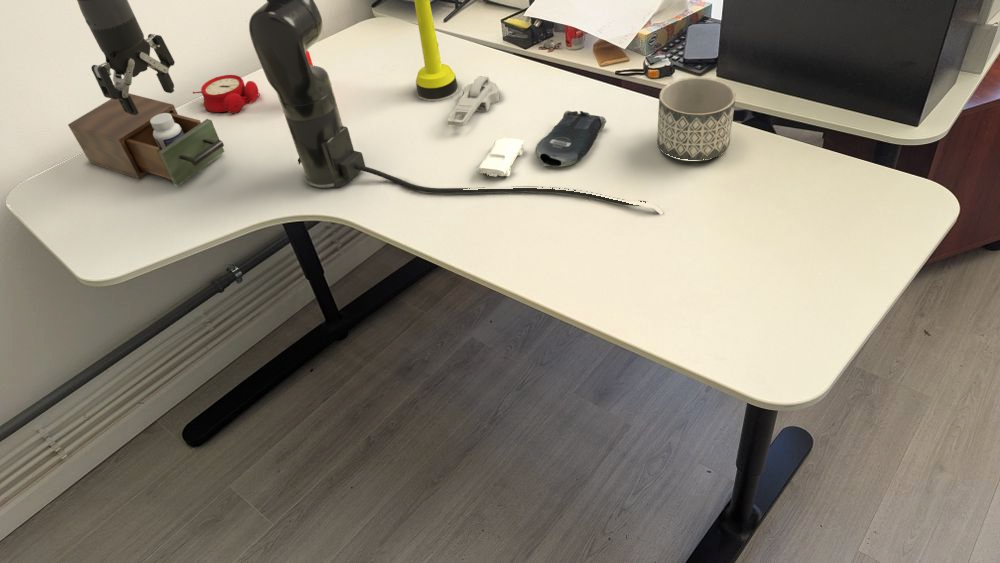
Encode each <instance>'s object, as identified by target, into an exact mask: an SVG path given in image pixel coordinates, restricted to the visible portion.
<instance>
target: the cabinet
mask: <svg viewBox="0 0 1000 563" xmlns="http://www.w3.org/2000/svg"><path fill="white" fill-rule="evenodd" d="M128 95H129V96H130V97H131V98H132V100H133V102H134V104H135V106H136V108H137V110H138V112H139V114H137V115H131V114H129V113H126V112H125V111H124V109H123V107H122V106H121V104H120V102H119V100H118V99H116V100H115V99H111V98H109V100H107V101H105V102H103V103H102V104H100V105H98V106H96V107H95V108H93V109H91V110H90V111H88V112H86V113H85V114H83V115H82V116H80V117H78V118H77V119H75V120H73V121H71V122H69V123H68V124H67V126H68V128H69V129H70V131H71V133H72V134H73V136H74V138H75V139H76V141H77V143H78V145H79V147H80V148H81V150H82V152H83V153H84V155H85V156H86V158H87V160H88V161H89V163H90V164H93V165H95V166H99V167H101V168H104V169H108V170H110V171H114V172H116V173H120V174H123V175H127V176H129V177H133V178H136V179H138V180H140V179H143V178H144V177H145V176H146V175H149V174H150V173H149V172H146V171H143V170H139V169H138V167H137V165H136V163H135V161H134V159H133V157H132V156H131V154H130V152H129V150H128V148H127V146H126V144H125V142H124V141H125V140H126V139H128V138H129V137H131V136H132V135H134V134H135V133H137V132H139V131H140V130H142V129H143V128H145V127H146V126H148V125H149V124H151V123H150V120H151V118H153V117H154V116H156V115H158V114H162V113H168V112H170V113H173V114H177V115H179V113H178V111H177V110H176V107H175V105H174V104H173V103H168V102H165V101H161V100H157V99H153V98H149V97H145V96H141V95H138V94H133V93H130V92H129V93H128Z"/></svg>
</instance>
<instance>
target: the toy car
mask: <svg viewBox="0 0 1000 563" xmlns="http://www.w3.org/2000/svg"><path fill="white" fill-rule="evenodd" d="M524 142H525V141H524V140H522V139H518V138H510V137H509V138H508V137H501V138H500V139H498V140H496V141H494V144H493V146H492V148H491V149H490V151H489V152H488V154H487V155H486V156H485V157H484V159H483V160H482V161H481V162H480V164H479V165H480V166H479V167H478V168H477V172H478V173H480V174H483V173H484V175H485V174H486V176H488V175H489V176H488V177H494V178H495V177H497V178H498V176H500V177H509V176H510V175H511V172H512V171H511V170H512V169H511V168H512V166H513V165H514V164H513V163H514V162H515V160H516V159H517V157H518V156H522V155H523V152H524V147H523V146H524ZM509 169H510V170H509ZM506 173H508V174H506Z"/></svg>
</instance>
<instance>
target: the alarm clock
mask: <svg viewBox="0 0 1000 563" xmlns="http://www.w3.org/2000/svg"><path fill="white" fill-rule="evenodd" d="M192 94H201V95H202V97H203V106H204V108H205V110H207V111H209V112H212V113H221V112H222V113H223V112H228V113H231V114H236V113H238V112H240V111H241V110H243V107H244V105H250V104H252V103H253V102H255V101H256V100H257V99H259V98H260V96H261V93H260V92H259V87H258V85H257V83H256V82H255V81H253V80H248V81H247V82H246V83H245V82H244V79H243V78H242V77H241V76H239V75H236V74H225V75H220V76H215V77H214V78H211V79H210V80H208V81H206V82H205V83H203V84H202V85H201V88H200V91H192Z"/></svg>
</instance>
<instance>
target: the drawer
mask: <svg viewBox="0 0 1000 563" xmlns="http://www.w3.org/2000/svg"><path fill="white" fill-rule="evenodd" d="M168 113H169V114H171V116H172V118H173V120H174V123H177V124H179V125H180V127H181V129H182V131H183V133H184V135H183V136H181V137H180V138H178V139H177V140H175V141H174V142H172V143H171V144H169V145H168V146H166V147H165V148H164V149H162V150H160V148H159V146H158V144H157V143H156V141H155V139H154V136H153V131H154V130H155V129H153V127H152V125H151V124H149V125H148V126H146V127H145V128H143V129H142V130H140V131H139V132H137V133H135V134H134V135H132V136H131V137H129V138H128V139H126V140H125V141H124V142H125V144H126V146H127V148H128V150H129V152H130V154H131V156H132V157H133V159H134V161H135V163H136V165H137V167H138V169H139V170H143V171H146V172H149V173H148V174H153V175H155V176H159V177H162V178H165V179H168V180H171V181H172V184H173V185H174V186H180V185H182V184H183V183H184V182H186V180H188V179H189V178H191V177H192V176H193V175H195V174H196V173H197V172H199V171H200V170H202V169H204V168H205V167H206V166H207V165H209V164H210V163H211V162H212V161H214V160H215V159H217V158H218V157H219V156H221V155H222V154H224V153H225V149H224V146H225V145H224V142H223V141H222V140H221V139H220V138H219V135H218V133H217V130H216V127H215V126H214V123H213V121H212V120H211V119H208V118H205V120H203V121H201V120H200V119H197V118H193V117H189V116H184V115H181V114H178V113H177V114H178V115H177V114H173V113H170V112H168Z"/></svg>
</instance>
